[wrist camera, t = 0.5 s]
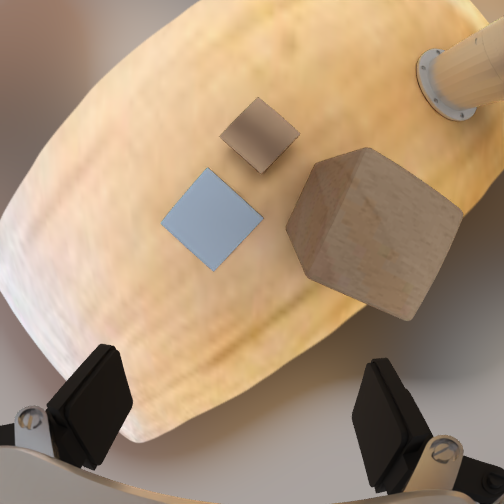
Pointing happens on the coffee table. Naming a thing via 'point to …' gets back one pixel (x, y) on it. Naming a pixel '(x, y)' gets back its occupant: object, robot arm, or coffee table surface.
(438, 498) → the robot arm
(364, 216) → the wooden block
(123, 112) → the coffee table surface
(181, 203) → the mat
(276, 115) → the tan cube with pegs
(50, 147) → the coffee table surface
